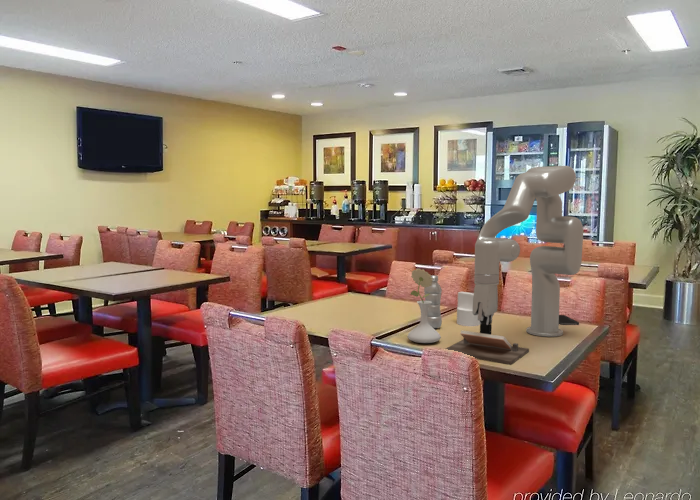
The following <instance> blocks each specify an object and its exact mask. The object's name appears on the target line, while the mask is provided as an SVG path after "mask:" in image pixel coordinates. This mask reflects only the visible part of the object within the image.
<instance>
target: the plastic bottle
mask: <svg viewBox="0 0 700 500" xmlns="http://www.w3.org/2000/svg"><path fill="white" fill-rule="evenodd" d="M430 275H431V274H430ZM430 277H431V278H432V280H433V281H432V286H429V287H423V292H424V294H423V295H424V296H425V295H426V294H429V293H430V294H429V295H428V296H426V297H424V299H425V300H424V301H431V302H432V303H431V304H430V306H429V309H428V316H427V319H428V323H429V325H430V326H431V327H432V328H434V329H440V328H441V326H442V325H443V324H442V323H443V321H442V316H441V298H442V292H443V291H442V286H441V285H440V284H439V276H438V275H435V274H432V275H431V276H430Z"/></svg>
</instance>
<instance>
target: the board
mask: <svg viewBox="0 0 700 500" xmlns="http://www.w3.org/2000/svg"><path fill="white" fill-rule="evenodd" d="M445 349H448V350H454V351H458V352H462V353H464V354H467V355H470V356H473V357H475V358H477V359H476V360H483V361H487V362H494V363H498V364H499V363H500V364H505V365H510V366H511V365H513V364H514V363H515V362H517V361H519V360H520V359H521V358H522V357H524V356H525V355H526V354H528V353H529V352H530V348H527V347H521V346H520V347H519V343H516V342H514V343H512V350H510V349H504V348H498V347H491V346H485V345H478V344H472V343H469V342H468V341H467V340H466V339H465V338H464V337H463V339H462V340H460V341H458V342H456V343H454V344H452V345H450V346H448V347H446V348H445ZM475 358H474V359H475ZM519 358H520V359H519Z"/></svg>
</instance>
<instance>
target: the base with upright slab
mask: <svg viewBox="0 0 700 500" xmlns="http://www.w3.org/2000/svg"><path fill="white" fill-rule="evenodd" d="M473 295H474V292H468V291H458V292H457V307H456V324H457V325H459V326H463V327H478V326H480V321H479V320H478V314H477V315H473V313H472V310H473Z"/></svg>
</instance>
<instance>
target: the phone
mask: <svg viewBox="0 0 700 500" xmlns="http://www.w3.org/2000/svg"><path fill="white" fill-rule="evenodd" d="M559 324H560V325H561V326H579V324H580V322H579V321H577V320H576V319H573V318H571V317H569V316H567V315H565V314H559ZM560 325H559V326H560Z"/></svg>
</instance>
